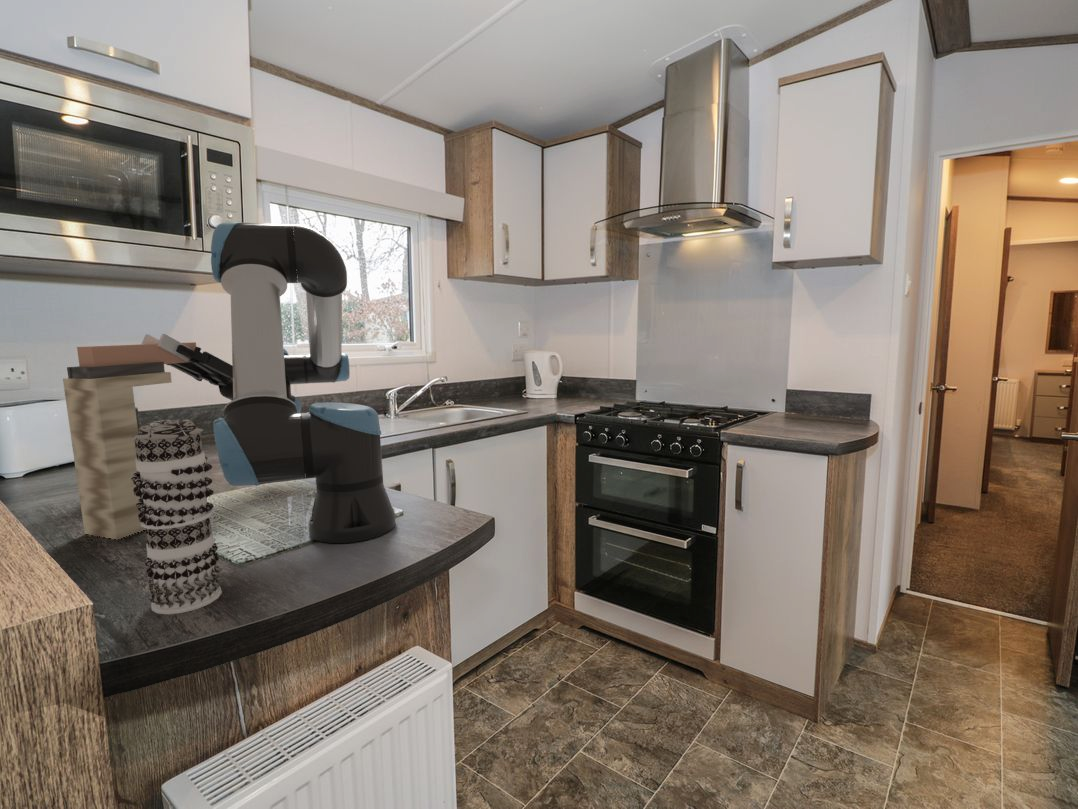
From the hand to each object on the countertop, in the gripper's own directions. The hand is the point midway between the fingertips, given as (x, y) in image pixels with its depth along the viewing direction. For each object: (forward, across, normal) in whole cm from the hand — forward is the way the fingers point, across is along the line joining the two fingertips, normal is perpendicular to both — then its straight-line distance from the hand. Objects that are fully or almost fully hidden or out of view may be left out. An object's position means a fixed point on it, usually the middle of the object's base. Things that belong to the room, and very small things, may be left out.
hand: (152, 340), depth 112 cm
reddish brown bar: (0, 0, -5) cm, 5 cm away
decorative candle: (+5, -38, -44) cm, 58 cm away
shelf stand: (-11, 0, -34) cm, 36 cm away
